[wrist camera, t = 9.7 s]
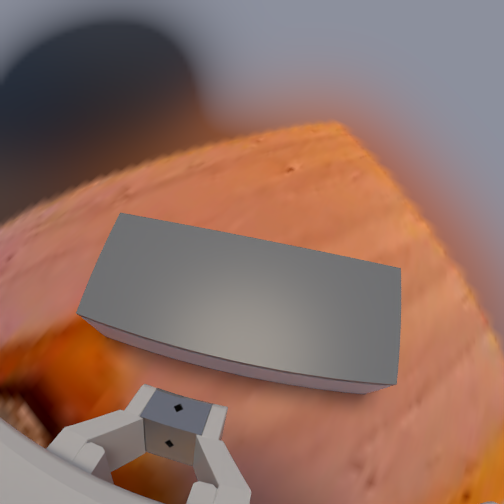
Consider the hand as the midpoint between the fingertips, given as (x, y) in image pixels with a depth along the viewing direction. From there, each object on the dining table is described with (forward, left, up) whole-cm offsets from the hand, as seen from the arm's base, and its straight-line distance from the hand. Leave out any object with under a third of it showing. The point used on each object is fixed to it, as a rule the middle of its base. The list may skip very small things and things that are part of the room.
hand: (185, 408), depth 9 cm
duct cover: (0, +10, -13) cm, 16 cm away
